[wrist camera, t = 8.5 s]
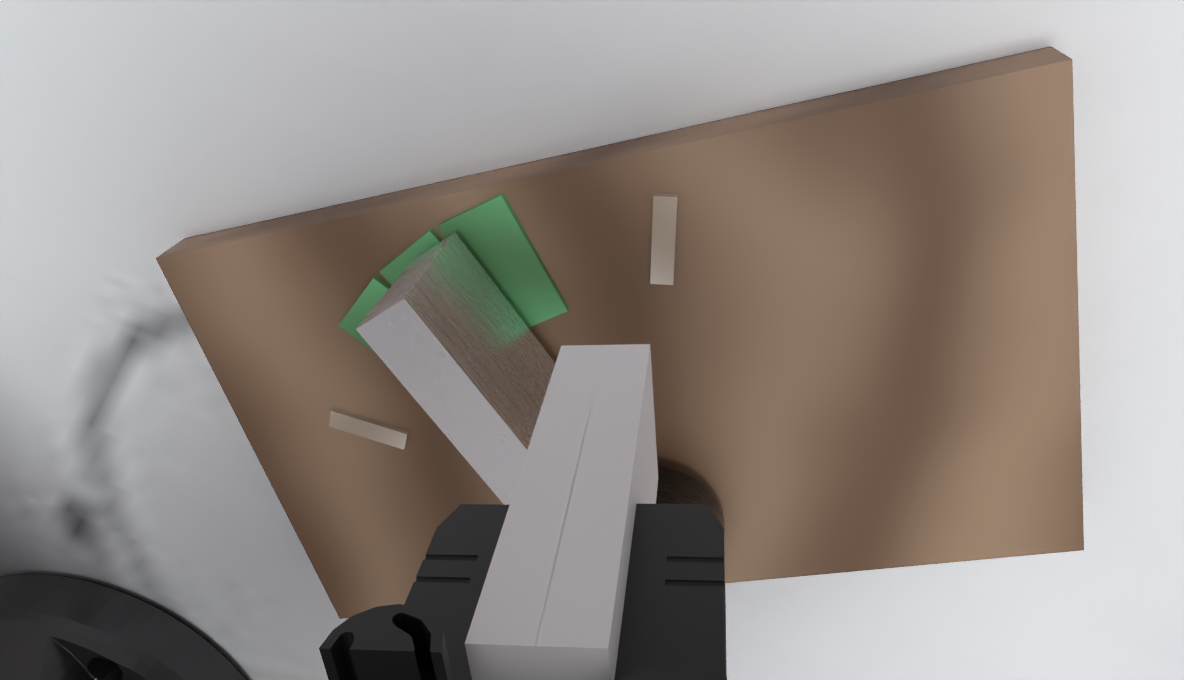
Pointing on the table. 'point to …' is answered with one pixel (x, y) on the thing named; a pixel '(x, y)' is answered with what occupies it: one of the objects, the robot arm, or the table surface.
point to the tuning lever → (477, 366)
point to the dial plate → (710, 328)
